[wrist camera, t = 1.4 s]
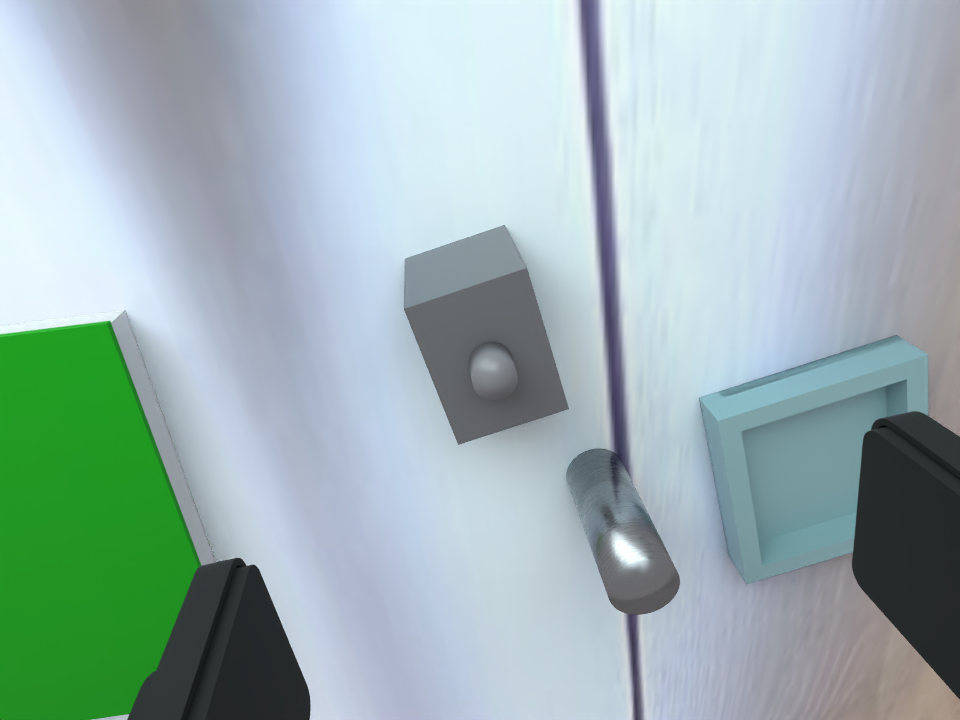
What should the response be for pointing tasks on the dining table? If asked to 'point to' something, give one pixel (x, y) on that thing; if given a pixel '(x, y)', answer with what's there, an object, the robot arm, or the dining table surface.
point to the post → (621, 534)
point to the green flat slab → (86, 520)
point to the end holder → (804, 452)
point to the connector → (482, 334)
